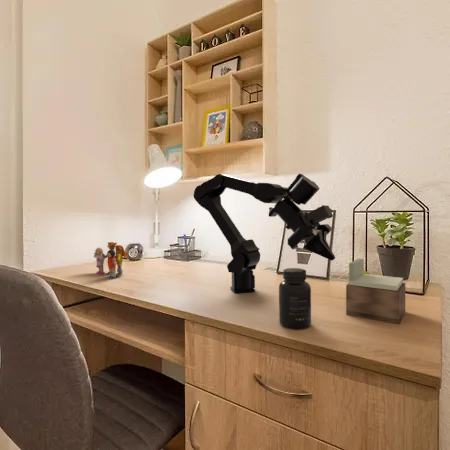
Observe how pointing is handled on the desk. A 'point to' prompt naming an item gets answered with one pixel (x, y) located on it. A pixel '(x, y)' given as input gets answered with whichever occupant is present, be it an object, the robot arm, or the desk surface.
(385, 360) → the desk surface
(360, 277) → the lid
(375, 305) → the pencil box
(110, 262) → the doll family
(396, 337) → the desk surface
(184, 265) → the desk surface
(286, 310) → the supplement bottle
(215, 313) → the desk surface
